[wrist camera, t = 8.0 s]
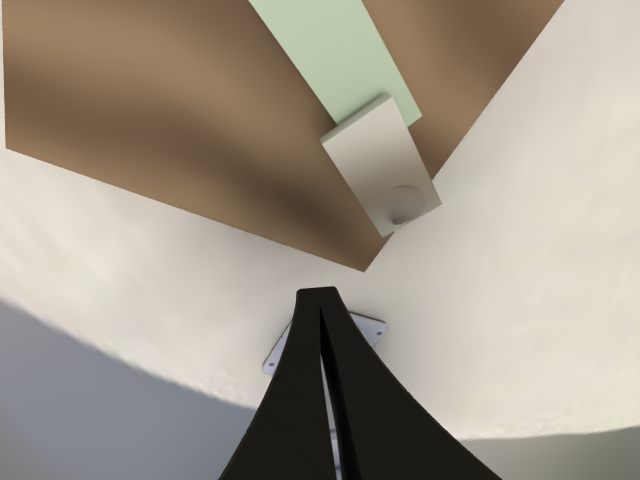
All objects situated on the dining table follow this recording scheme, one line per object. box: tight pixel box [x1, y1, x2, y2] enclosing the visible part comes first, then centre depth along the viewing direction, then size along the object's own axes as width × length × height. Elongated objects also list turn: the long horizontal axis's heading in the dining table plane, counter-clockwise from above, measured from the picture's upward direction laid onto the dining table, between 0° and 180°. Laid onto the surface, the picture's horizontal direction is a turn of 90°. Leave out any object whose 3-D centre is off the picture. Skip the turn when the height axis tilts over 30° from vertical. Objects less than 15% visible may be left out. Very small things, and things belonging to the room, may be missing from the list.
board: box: [2, 0, 564, 272], centre depth 12 cm, size 18×20×6 cm
